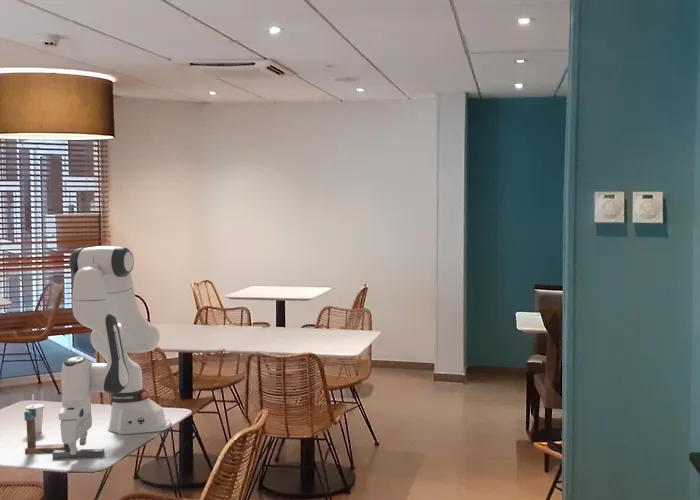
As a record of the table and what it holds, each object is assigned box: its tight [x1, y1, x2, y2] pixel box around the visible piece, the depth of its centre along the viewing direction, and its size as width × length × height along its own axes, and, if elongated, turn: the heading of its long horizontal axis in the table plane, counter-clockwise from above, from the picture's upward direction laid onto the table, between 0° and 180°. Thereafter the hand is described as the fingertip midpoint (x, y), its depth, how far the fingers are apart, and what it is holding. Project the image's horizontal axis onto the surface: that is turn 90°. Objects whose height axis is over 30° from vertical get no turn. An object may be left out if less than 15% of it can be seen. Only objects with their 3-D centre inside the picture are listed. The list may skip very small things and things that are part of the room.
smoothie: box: [25, 393, 45, 435], centre depth 277 cm, size 6×6×14 cm
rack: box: [23, 408, 70, 454], centre depth 254 cm, size 15×5×14 cm, turn 93°
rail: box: [51, 448, 106, 460], centre depth 247 cm, size 16×2×2 cm, turn 92°
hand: (78, 449), depth 247 cm, fingers open, 8 cm apart
